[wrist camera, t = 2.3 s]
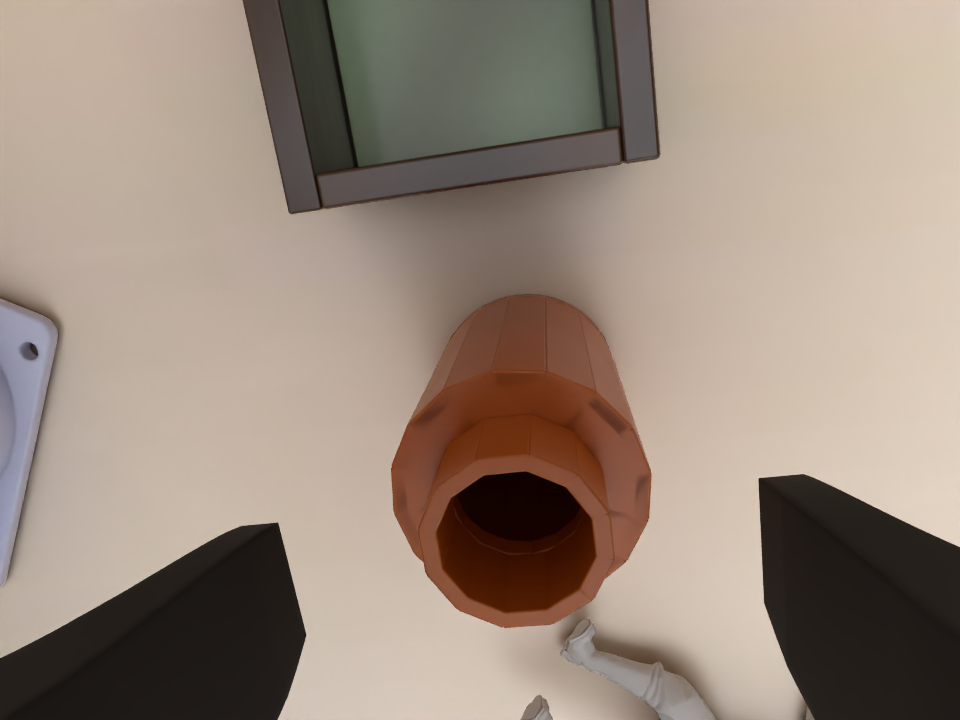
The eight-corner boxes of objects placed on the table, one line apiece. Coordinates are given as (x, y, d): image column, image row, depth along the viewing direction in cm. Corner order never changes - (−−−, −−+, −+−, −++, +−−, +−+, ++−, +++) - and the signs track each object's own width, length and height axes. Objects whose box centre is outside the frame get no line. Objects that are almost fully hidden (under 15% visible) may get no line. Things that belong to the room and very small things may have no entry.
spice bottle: (571, 479, 20) (591, 708, 12) (419, 419, 20) (332, 606, 12) (642, 333, 18) (721, 475, 10) (480, 267, 18) (428, 357, 10)
